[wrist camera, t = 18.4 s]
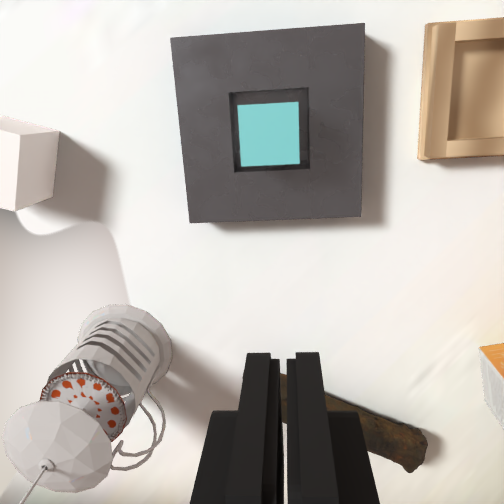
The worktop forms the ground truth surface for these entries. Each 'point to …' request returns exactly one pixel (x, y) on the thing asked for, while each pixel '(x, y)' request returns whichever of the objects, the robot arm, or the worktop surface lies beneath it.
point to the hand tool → (377, 433)
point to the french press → (90, 402)
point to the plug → (269, 134)
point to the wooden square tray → (462, 90)
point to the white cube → (26, 163)
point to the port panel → (264, 92)
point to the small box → (493, 378)
